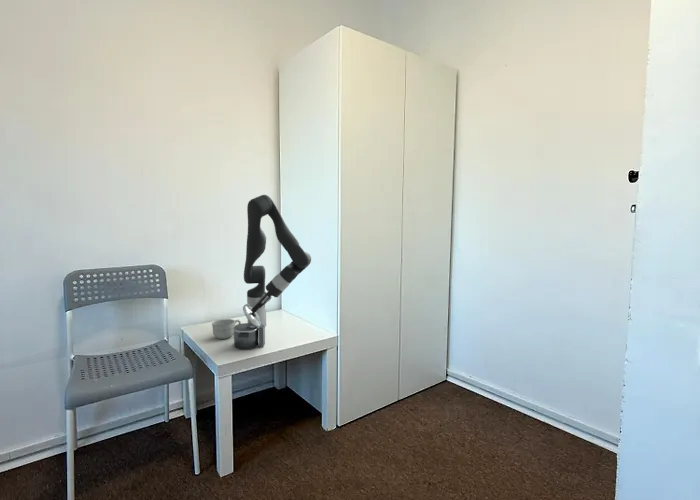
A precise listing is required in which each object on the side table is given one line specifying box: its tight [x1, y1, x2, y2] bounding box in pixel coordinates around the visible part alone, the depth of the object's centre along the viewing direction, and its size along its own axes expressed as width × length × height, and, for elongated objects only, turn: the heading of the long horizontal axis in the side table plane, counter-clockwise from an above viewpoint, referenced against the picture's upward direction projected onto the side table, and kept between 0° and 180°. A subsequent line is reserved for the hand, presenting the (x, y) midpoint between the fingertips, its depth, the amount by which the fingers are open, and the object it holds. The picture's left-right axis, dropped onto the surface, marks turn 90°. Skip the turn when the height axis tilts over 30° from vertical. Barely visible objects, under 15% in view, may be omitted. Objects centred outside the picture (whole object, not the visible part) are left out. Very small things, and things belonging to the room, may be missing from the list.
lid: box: [242, 303, 261, 327], centre depth 187 cm, size 12×12×2 cm
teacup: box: [211, 318, 242, 340], centre depth 200 cm, size 14×11×8 cm
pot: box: [233, 322, 266, 351], centre depth 188 cm, size 14×14×9 cm
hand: (252, 311), depth 187 cm, fingers closed
